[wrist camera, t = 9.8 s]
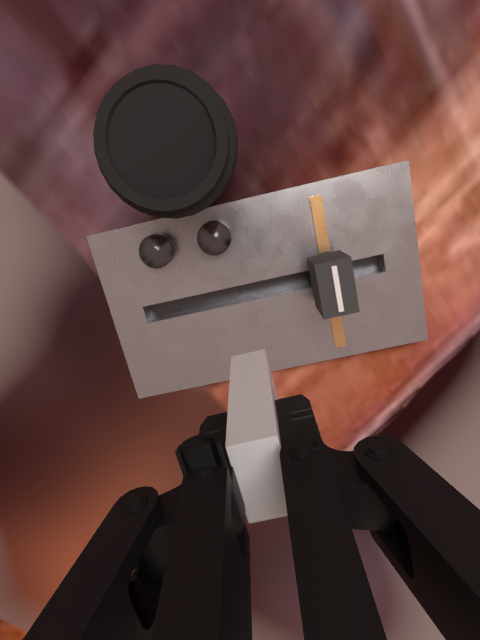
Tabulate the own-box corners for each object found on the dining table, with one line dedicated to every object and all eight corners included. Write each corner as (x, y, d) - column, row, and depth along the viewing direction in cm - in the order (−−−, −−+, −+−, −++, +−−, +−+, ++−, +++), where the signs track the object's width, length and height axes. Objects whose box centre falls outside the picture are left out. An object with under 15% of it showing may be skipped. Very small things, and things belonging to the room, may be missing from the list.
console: (95, 233, 39) (77, 238, 35) (397, 162, 37) (418, 157, 33) (144, 387, 43) (133, 408, 39) (417, 331, 41) (437, 346, 37)
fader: (302, 253, 38) (314, 265, 31) (332, 246, 38) (352, 256, 31) (310, 298, 39) (324, 320, 33) (339, 292, 39) (360, 312, 32)
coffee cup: (258, 175, 37) (267, 161, 23) (184, 230, 39) (149, 250, 24) (202, 90, 35) (174, 17, 21) (126, 151, 37) (51, 122, 22)
